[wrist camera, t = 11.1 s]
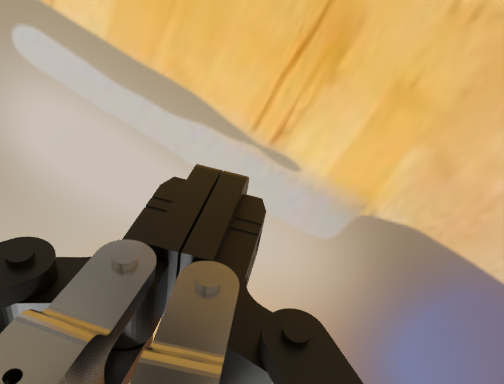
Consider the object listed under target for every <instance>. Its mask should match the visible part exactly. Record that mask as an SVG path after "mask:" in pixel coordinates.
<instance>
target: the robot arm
mask: <svg viewBox="0 0 504 384" xmlns="http://www.w3.org/2000/svg"><path fill="white" fill-rule="evenodd" d="M248 183H249V177H247V176H243V175H239V174H235V173H231V172H227V171H222V170H218V169H214V168H210V167H206V166H202V165H198V164H197V165H196V166H195V167H194V169H193V170H192V172H191V174H190V175H189V177H188V179H187V180H185V179H181V178H178V177H173V178H171V179H170V180H168V181H166V182H164V183H163V184H161V185H160V186H159V188H158V189H157V190H156V192H155V193H154V195H153V197H152V198H151V199H150V200H149V202H148V203H147V205H146V208H144V209H143V210H142V212H141V213H140V215H139V216H138V218H137V219H136V221H135V222H134V223H133V225H132V226H131V228H130V229H129V230H128V232H127V233H126V235H125V236H124V238H123V239H122V240H117V241H113V242H110V243H108V244H106V245H104V246H102V247H101V248H100V249H99V250H98V251H97V252H96V253H95V254H94V255H93V256H92V257H81V258H80V257H78V258H77V257H56V254H55V250H54V248H53V246H52V245H51V244H50V243H48V242H47V241H45V240H43V239H40V238H36V237H19V238H14V239H10V240H7V241H3V242H0V384H129V383H130V384H363V383H362V381H361V380H360V378H359V377H358V375H357V374H356V372H355V371H354V370H353V368H352V367H351V365H350V364H349V363H348V361H347V359H346V358H345V356H344V355H343V354H342V352H341V351H340V349H339V348H338V346H337V345H336V344H335V342H334V341H333V339H332V338H331V336H330V335H329V333H328V332H327V331H326V329H325V328H324V326H323V325H322V324H321V323H320V321H318V320H317V319H316V318H315V317H313V316H312V315H311V314H309V313H307V312H304V311H302V310H298V309H290V308H289V309H281V310H278V311H275V312H273V313H272V312H271V311H269V310H267V309H266V308H264V307H263V306H261V305H260V304H258V303H257V302H256V301H255V300H254V299H253V298H252V297H251V295H250V294H249V292H248V290H247V284H248V281H249V277H250V274H251V271H252V268H253V264H254V261H255V258H256V255H257V251H258V246H259V242H260V237H261V233H262V228H263V223H264V218H265V214H266V210H265V206H264V203H263V200H262V199H261V198H257V197H253V196H249V195H246V194H247V189H248ZM161 318H162V319H161ZM160 319H161V322H160V324H159V327H158V330H157V332H156V335H155V338H154V341H153V333H154V331H155V329H156V327H157V325H158V323H159V321H160ZM152 341H153V343H152ZM151 344H152V345H151ZM150 346H151V347H150ZM130 381H131V382H130Z"/></svg>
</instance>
